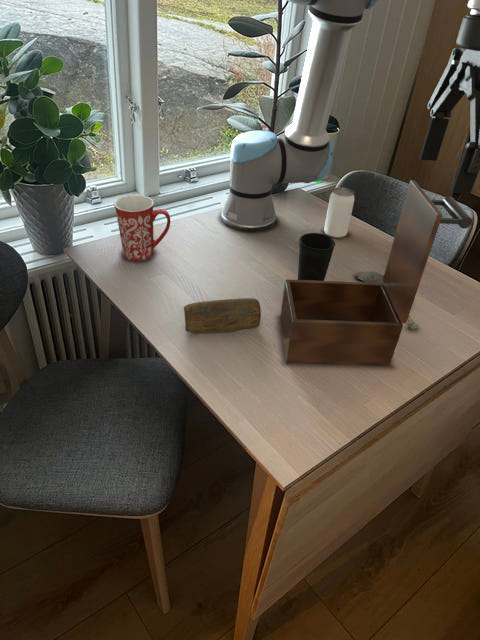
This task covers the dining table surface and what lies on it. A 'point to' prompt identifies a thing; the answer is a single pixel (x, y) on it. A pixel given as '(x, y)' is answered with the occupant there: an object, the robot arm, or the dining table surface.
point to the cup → (314, 256)
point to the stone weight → (222, 315)
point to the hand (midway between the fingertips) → (442, 175)
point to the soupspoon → (378, 278)
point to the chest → (338, 323)
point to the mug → (138, 226)
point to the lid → (416, 244)
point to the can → (339, 212)
